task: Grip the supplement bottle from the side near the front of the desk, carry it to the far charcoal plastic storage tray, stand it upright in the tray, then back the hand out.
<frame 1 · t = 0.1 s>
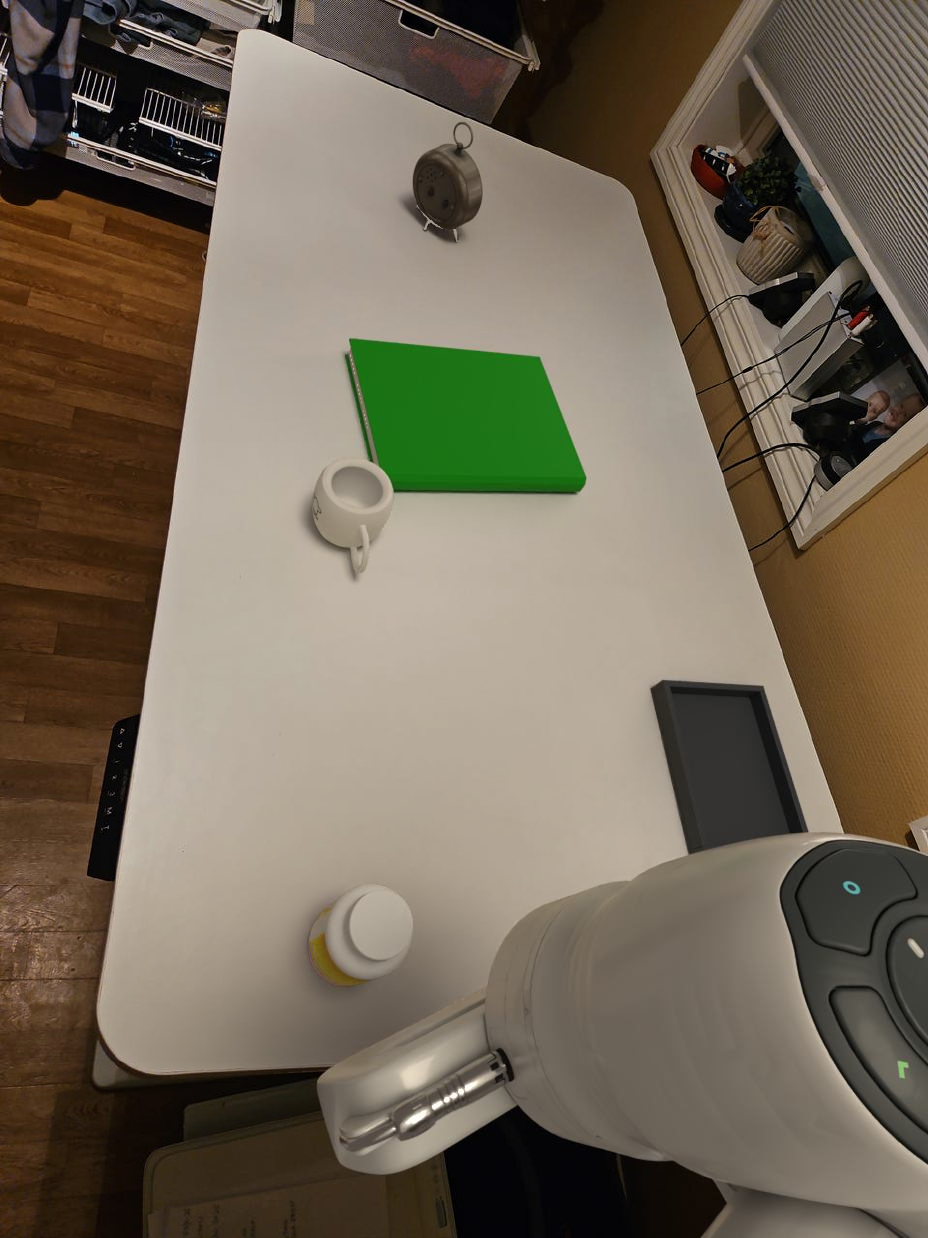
hand: (481, 1017, 40), 24 cm above the table, tool pointing down, fingers open, 8 cm apart
mug: (346, 540, 81), on the table
alarm clock: (432, 228, 116), on the table
book: (462, 427, 96), on the table
tray: (722, 769, 83), on the table
supplement bottle: (345, 943, 62), on the table
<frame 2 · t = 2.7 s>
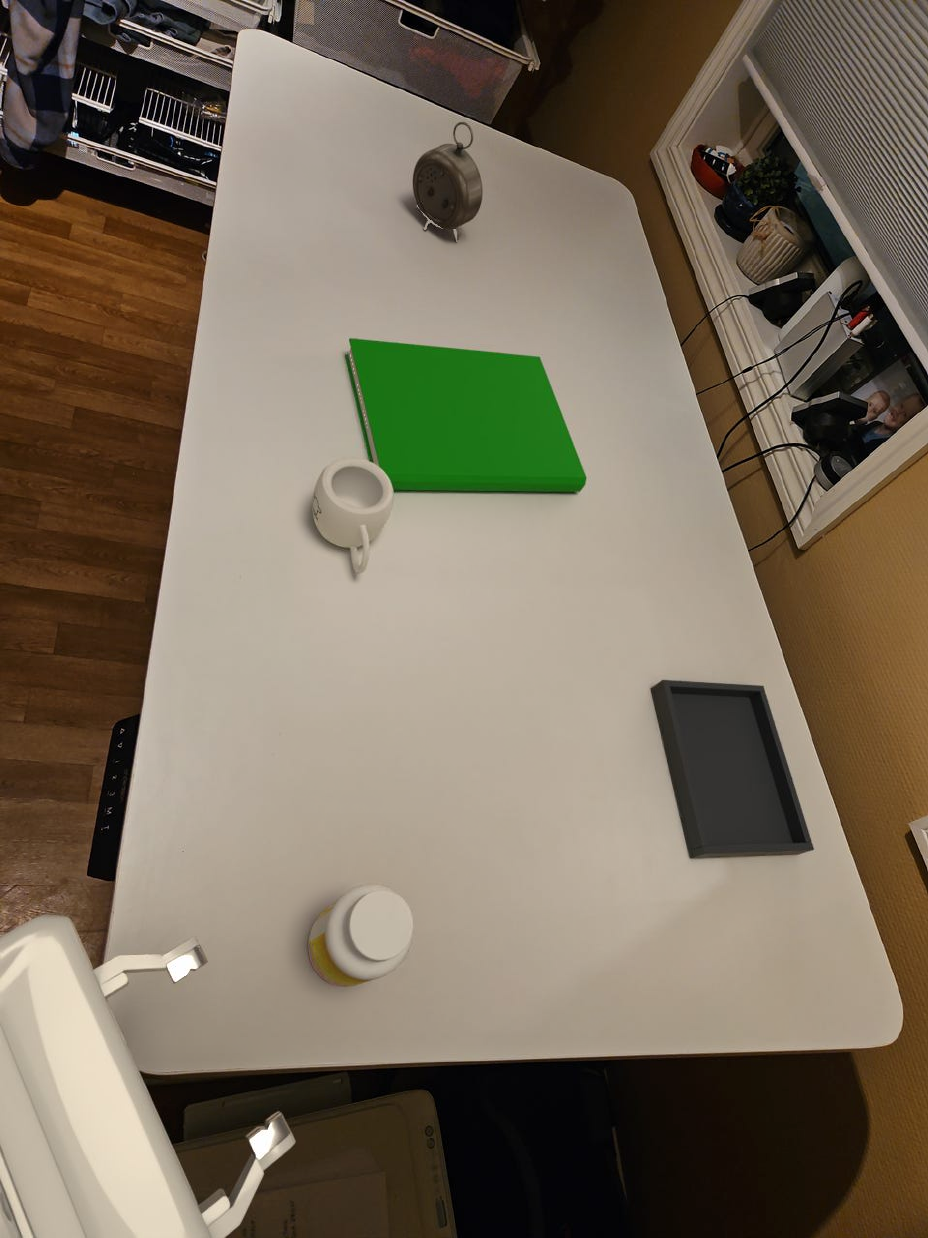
hand: (243, 1035, 36), 23 cm above the table, tool horizontal, fingers open, 8 cm apart
nothing on the table moved.
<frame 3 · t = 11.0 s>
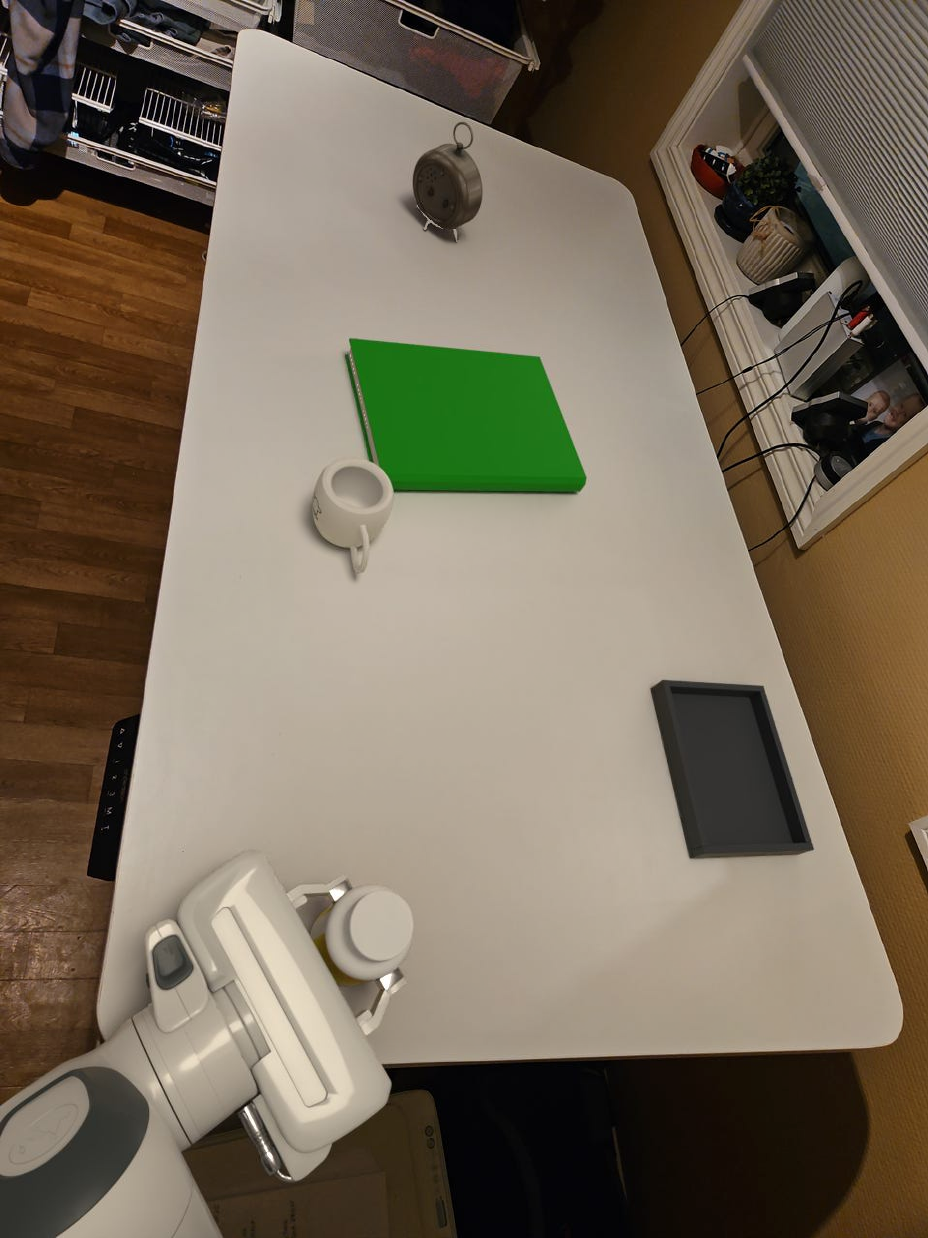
hand: (373, 926, 56), 7 cm above the table, tool horizontal, fingers closed on supplement bottle, 6 cm apart
supplement bottle: (345, 943, 62), on the table, touching gripper
everything else where it was.
when the fingers open (8 cm above the table, at t = 25.9 s): supplement bottle stays where it is, resting on tray.
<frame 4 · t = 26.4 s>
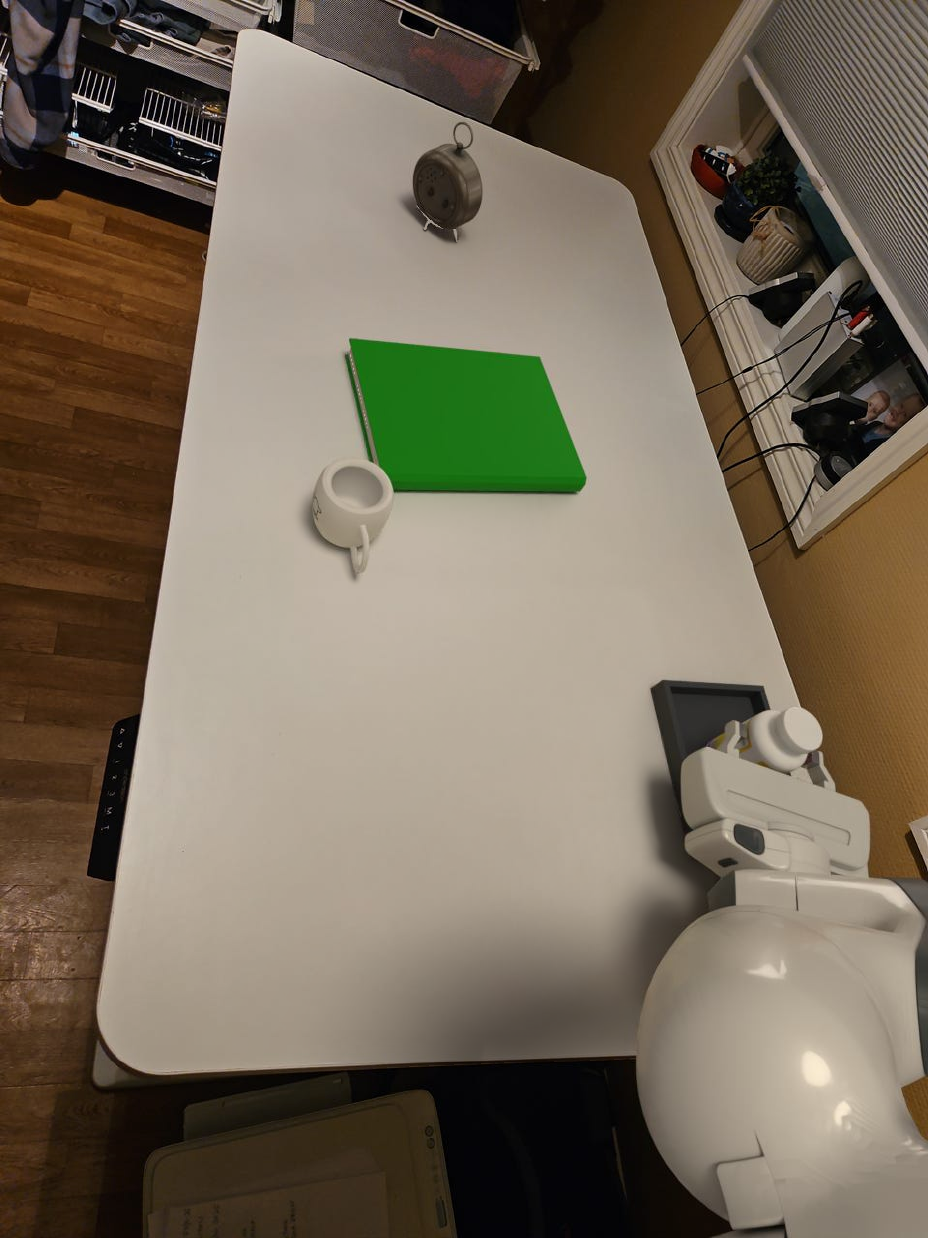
hand: (773, 737, 77), 9 cm above the table, tool horizontal, fingers open, 8 cm apart
supplement bottle: (723, 767, 83), resting on tray
everything else where it was.
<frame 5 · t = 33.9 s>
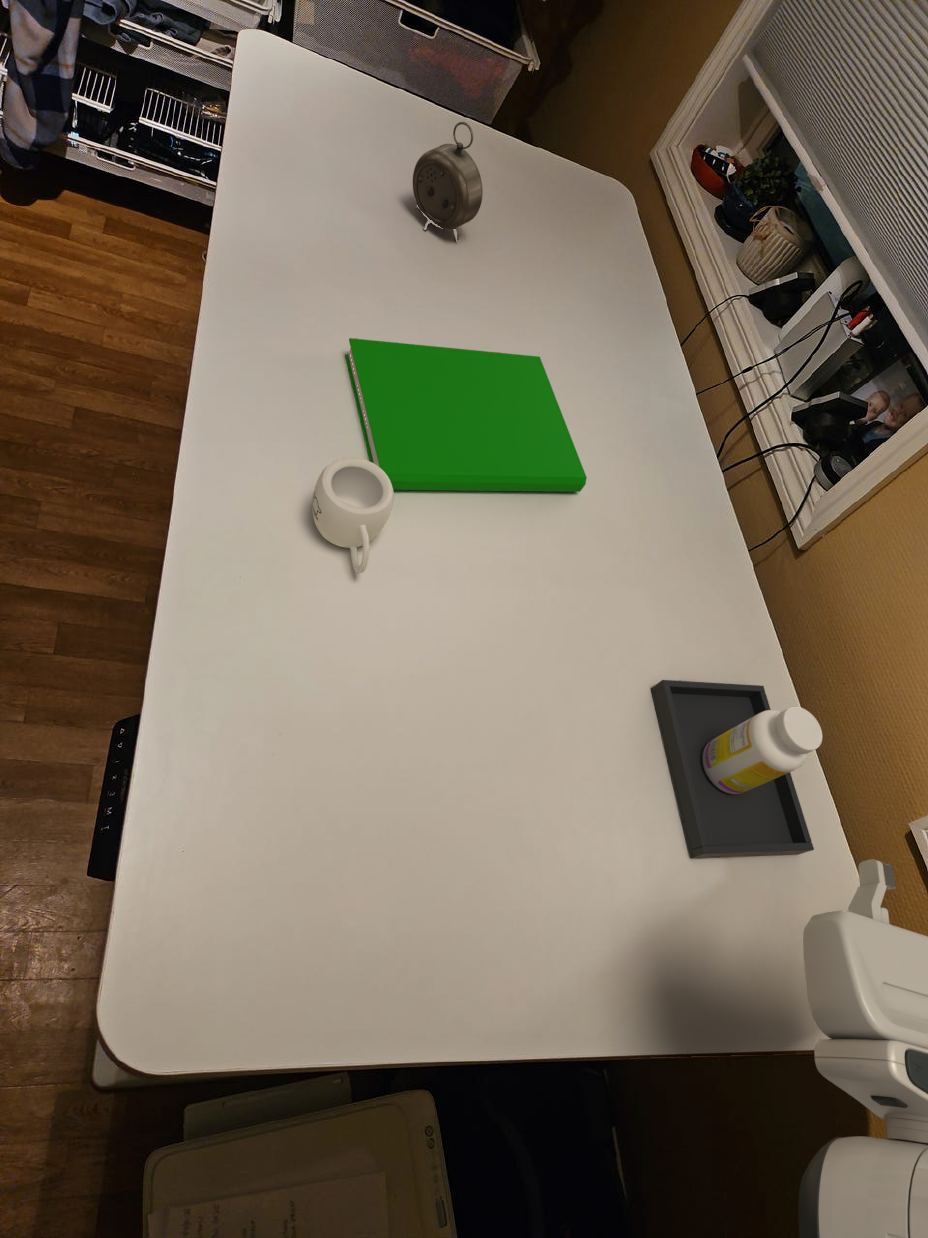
hand: (927, 880, 53), 25 cm above the table, tool horizontal, fingers open, 8 cm apart
nothing on the table moved.
at the end: supplement bottle inside the target area in the tray (0.2 cm from its centre), point 0.4 cm above the tray's base; supplement bottle tilted 0°; the gripper is holding nothing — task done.
